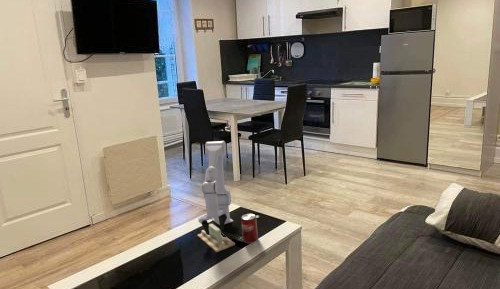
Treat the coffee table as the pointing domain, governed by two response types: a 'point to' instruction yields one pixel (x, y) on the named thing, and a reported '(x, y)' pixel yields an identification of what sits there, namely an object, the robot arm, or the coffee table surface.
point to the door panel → (215, 232)
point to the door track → (215, 244)
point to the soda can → (249, 228)
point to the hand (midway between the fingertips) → (214, 232)
